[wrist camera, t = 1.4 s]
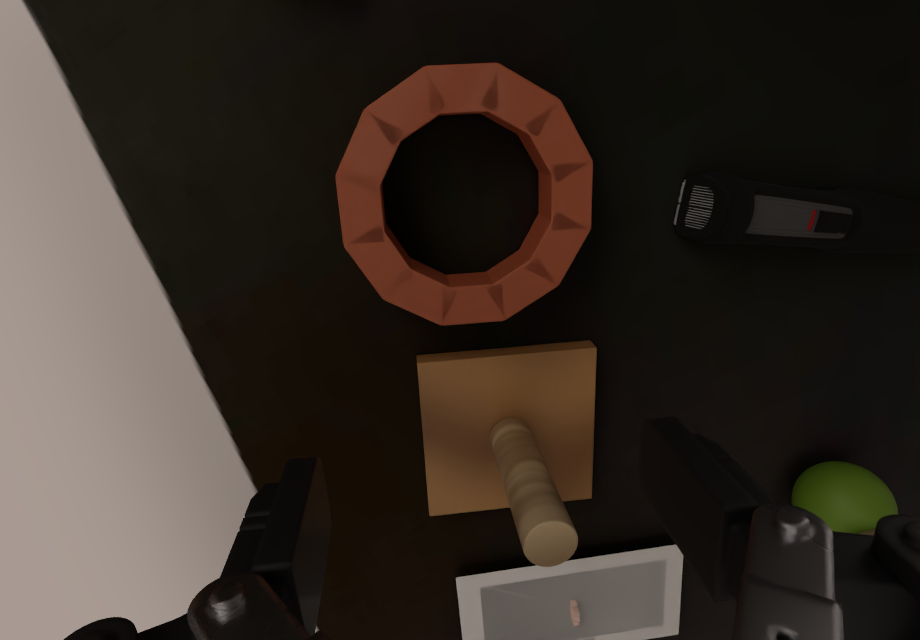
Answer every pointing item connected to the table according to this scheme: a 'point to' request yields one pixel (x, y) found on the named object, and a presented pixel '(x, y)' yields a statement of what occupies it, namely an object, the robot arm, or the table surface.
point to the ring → (559, 193)
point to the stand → (512, 437)
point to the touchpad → (577, 599)
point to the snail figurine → (844, 496)
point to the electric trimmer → (795, 216)
